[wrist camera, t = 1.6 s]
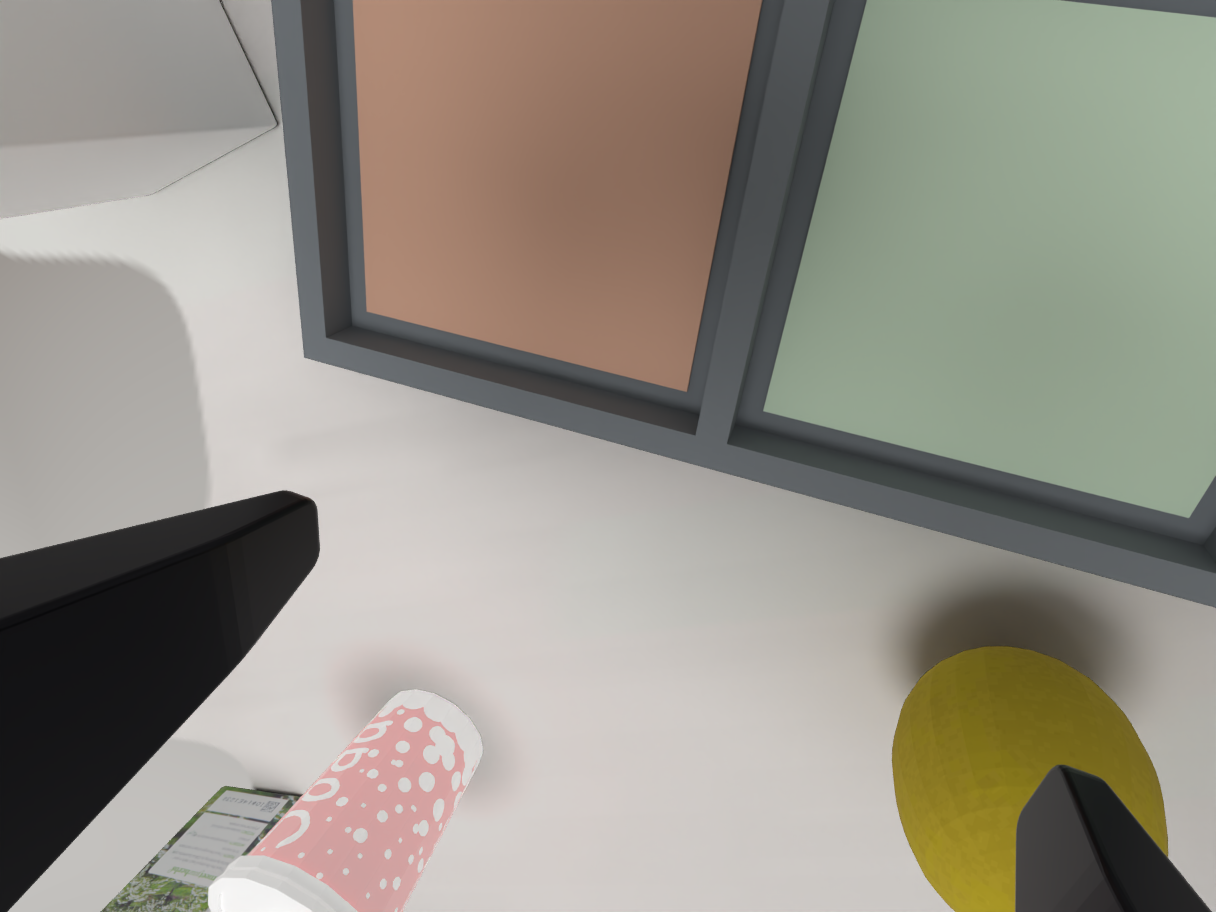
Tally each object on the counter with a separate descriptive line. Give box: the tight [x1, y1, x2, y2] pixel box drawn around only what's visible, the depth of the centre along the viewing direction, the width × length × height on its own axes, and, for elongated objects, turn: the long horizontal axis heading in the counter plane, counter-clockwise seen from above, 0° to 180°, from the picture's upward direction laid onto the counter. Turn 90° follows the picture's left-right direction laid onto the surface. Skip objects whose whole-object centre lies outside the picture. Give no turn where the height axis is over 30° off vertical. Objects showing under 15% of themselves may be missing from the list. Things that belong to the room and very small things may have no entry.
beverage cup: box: [208, 689, 483, 912], centre depth 25 cm, size 6×6×14 cm
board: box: [271, 0, 1216, 608], centre depth 16 cm, size 24×12×2 cm, turn 83°
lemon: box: [892, 646, 1168, 912], centre depth 17 cm, size 6×6×8 cm
